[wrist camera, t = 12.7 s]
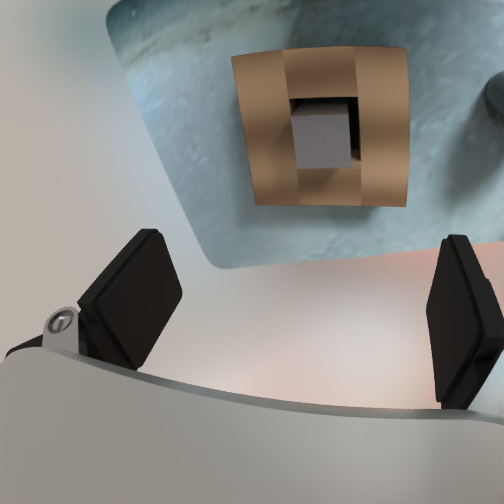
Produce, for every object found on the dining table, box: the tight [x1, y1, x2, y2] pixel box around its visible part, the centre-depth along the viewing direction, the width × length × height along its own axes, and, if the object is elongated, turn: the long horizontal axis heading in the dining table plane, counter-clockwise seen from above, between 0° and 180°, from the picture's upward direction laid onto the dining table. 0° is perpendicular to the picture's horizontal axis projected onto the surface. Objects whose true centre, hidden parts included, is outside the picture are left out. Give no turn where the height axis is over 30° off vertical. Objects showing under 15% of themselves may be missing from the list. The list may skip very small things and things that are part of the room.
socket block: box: [231, 46, 410, 207], centre depth 27 cm, size 14×14×6 cm
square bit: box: [291, 97, 351, 169], centre depth 25 cm, size 4×4×10 cm
